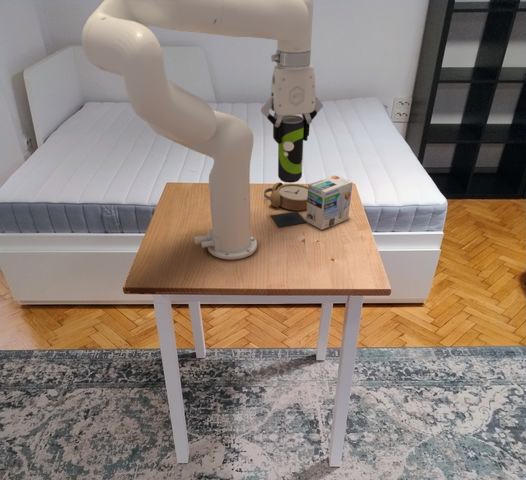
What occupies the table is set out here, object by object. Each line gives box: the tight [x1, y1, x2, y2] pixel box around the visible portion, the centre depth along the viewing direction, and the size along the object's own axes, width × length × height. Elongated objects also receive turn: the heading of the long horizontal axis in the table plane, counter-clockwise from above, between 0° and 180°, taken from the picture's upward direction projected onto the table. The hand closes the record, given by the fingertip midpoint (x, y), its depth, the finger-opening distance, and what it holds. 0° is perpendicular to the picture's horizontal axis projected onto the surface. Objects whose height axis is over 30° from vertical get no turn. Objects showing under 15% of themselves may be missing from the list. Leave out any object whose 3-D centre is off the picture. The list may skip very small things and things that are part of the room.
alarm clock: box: [263, 181, 308, 211], centre depth 146 cm, size 11×5×15 cm
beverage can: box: [277, 115, 304, 184], centre depth 127 cm, size 6×6×15 cm
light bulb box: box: [305, 174, 353, 231], centre depth 135 cm, size 11×7×11 cm, turn 129°
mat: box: [270, 210, 307, 228], centre depth 139 cm, size 8×7×1 cm
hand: (291, 140), depth 125 cm, fingers closed on beverage can, 6 cm apart
